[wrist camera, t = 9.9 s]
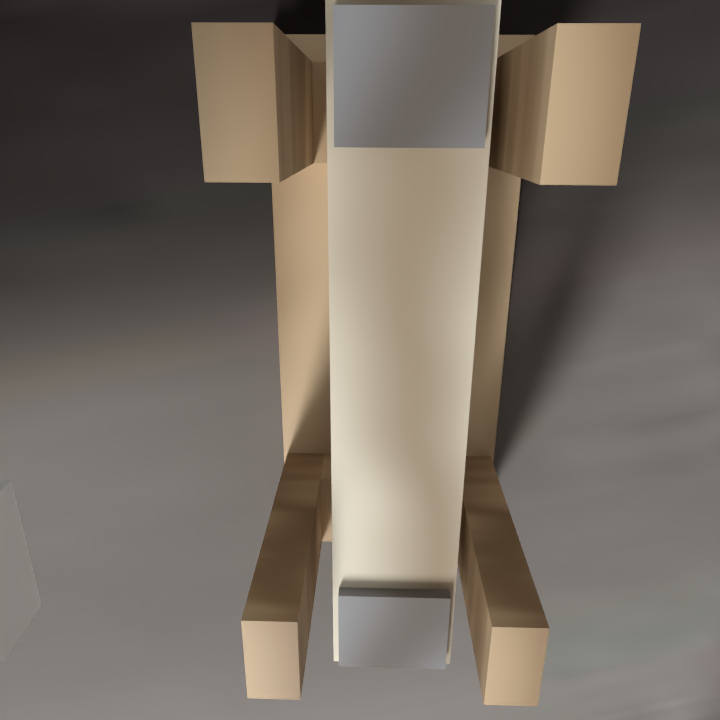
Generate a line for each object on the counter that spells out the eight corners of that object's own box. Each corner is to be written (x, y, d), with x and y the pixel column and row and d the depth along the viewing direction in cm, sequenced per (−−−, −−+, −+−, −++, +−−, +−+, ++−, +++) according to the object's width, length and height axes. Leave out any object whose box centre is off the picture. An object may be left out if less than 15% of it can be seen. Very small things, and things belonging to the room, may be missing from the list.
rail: (341, 563, 26) (332, 670, 21) (338, 30, 18) (323, -6, 13) (436, 565, 26) (450, 673, 21) (470, 31, 18) (505, -6, 13)
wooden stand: (290, 517, 28) (244, 721, 19) (270, 38, 21) (178, -37, 12) (482, 521, 28) (538, 730, 18) (528, 38, 21) (658, -38, 11)
